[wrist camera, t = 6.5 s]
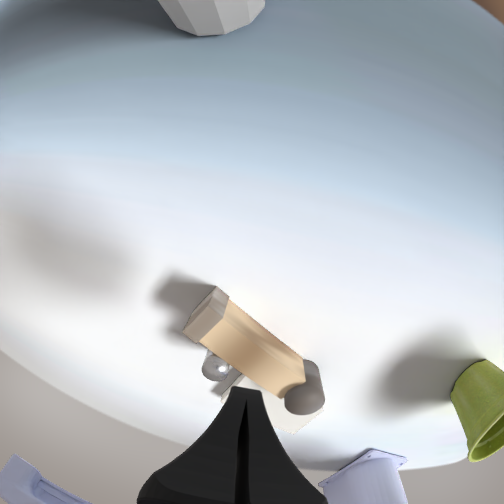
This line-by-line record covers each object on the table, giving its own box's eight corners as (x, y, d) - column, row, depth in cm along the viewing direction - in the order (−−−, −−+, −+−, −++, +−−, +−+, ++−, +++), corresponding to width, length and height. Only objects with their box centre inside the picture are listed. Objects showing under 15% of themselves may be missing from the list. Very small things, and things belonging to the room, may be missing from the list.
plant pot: (489, 330, 21) (537, 376, 12) (507, 366, 22) (543, 406, 14) (424, 394, 23) (457, 454, 14) (453, 419, 24) (479, 467, 16)
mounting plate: (293, 427, 24) (293, 434, 23) (222, 394, 23) (220, 402, 22) (322, 403, 23) (323, 410, 22) (248, 366, 22) (247, 373, 21)
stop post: (225, 357, 22) (219, 385, 19) (206, 345, 22) (197, 372, 19) (237, 342, 22) (232, 370, 18) (218, 330, 22) (209, 357, 18)
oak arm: (326, 372, 22) (332, 400, 19) (299, 391, 23) (303, 420, 19) (217, 285, 21) (208, 306, 17) (192, 311, 21) (179, 335, 18)
